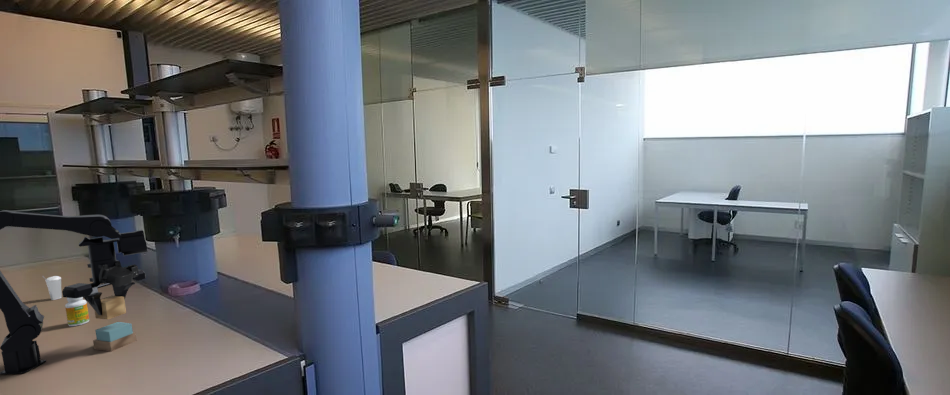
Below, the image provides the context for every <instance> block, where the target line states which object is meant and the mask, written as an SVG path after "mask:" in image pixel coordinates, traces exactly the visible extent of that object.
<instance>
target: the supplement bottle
mask: <svg viewBox="0 0 950 395" xmlns="http://www.w3.org/2000/svg"><path fill="white" fill-rule="evenodd" d="M66 301H67V303H65V305H64V307H65V313H66V319H67V320H66V321H67V325H68V326H69V327H77V326H81V325H86V324H87V323H89V322H90V314H89V308H88V302H87V301H86V300H85V299H84V298H83V297H81V298H66Z"/></svg>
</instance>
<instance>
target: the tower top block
mask: <svg viewBox="0 0 950 395" xmlns="http://www.w3.org/2000/svg"><path fill="white" fill-rule="evenodd" d="M94 331H95V336H96V337H95V338H96V339H97V340H101V341H107V342H112V341H114V340H117V339H120V338H122V337H125V336H127V335H130V334H132V333H133V332H134V331H133V325H132V322H131V323H129V322H121V321H117V322H114V323H111V324H108V325H105V326H103V327H100V328H97V329H95V330H94Z"/></svg>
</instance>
